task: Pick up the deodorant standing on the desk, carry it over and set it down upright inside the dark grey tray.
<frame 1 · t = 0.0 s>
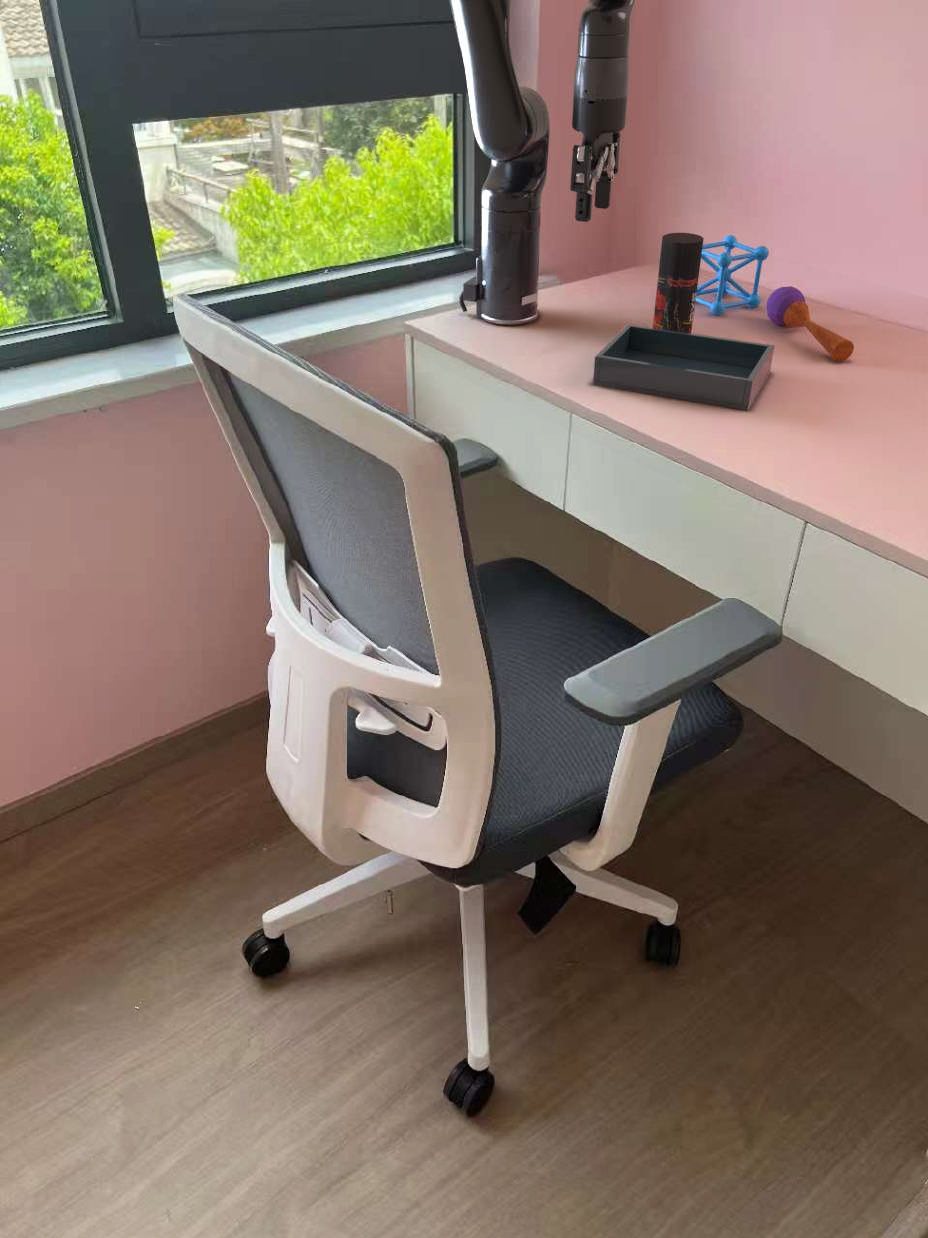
hand: (592, 214, 147), 17 cm above the table, tool pointing down, fingers open, 8 cm apart
deodorant: (670, 339, 153), on the table
molecular structure: (719, 306, 166), on the table
dark grey tray: (682, 378, 139), on the table
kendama: (805, 340, 152), on the table
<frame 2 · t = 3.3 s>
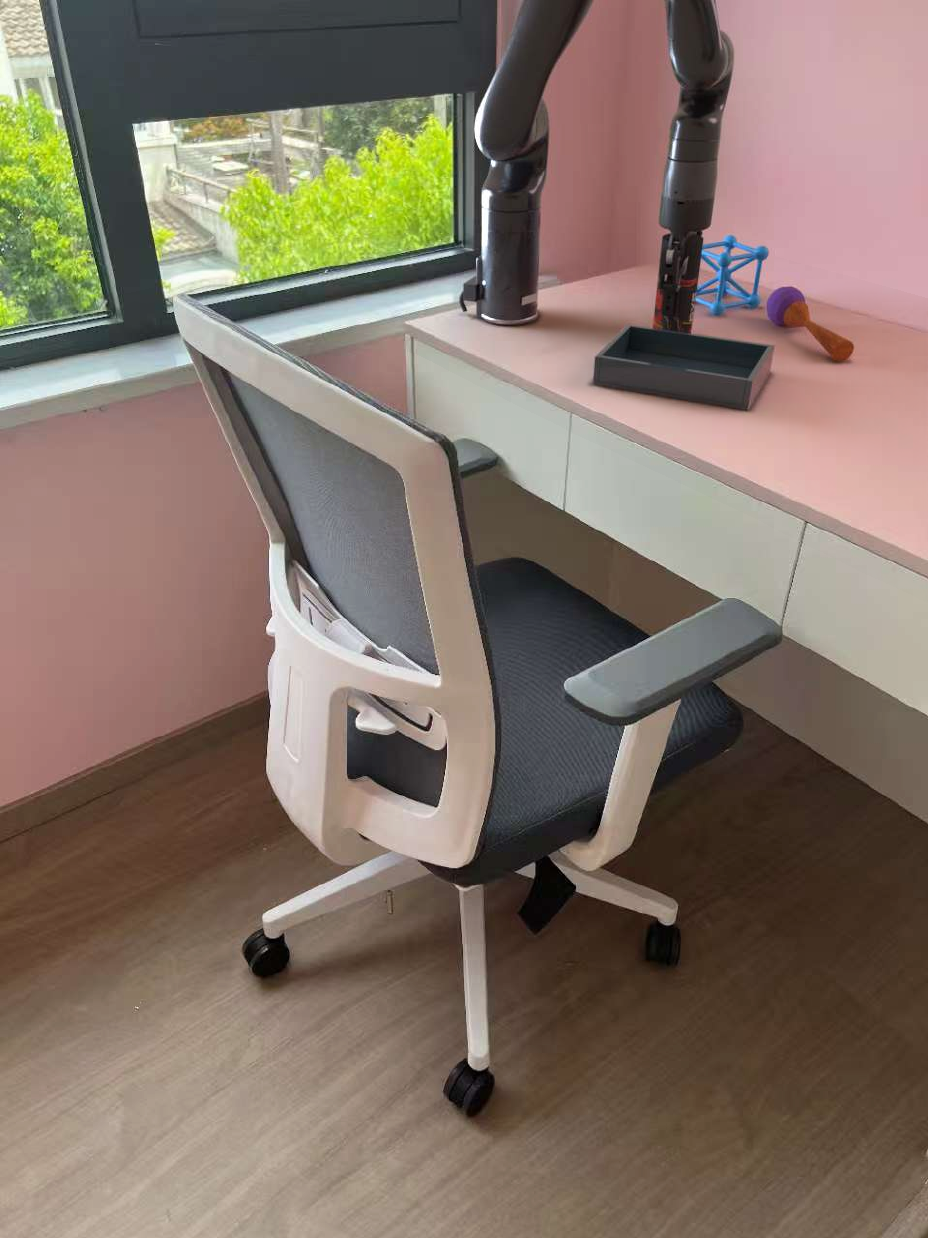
hand: (674, 308, 150), 5 cm above the table, tool pointing down, fingers closed on deodorant, 6 cm apart
deodorant: (670, 339, 153), on the table, touching gripper
everything else where it was.
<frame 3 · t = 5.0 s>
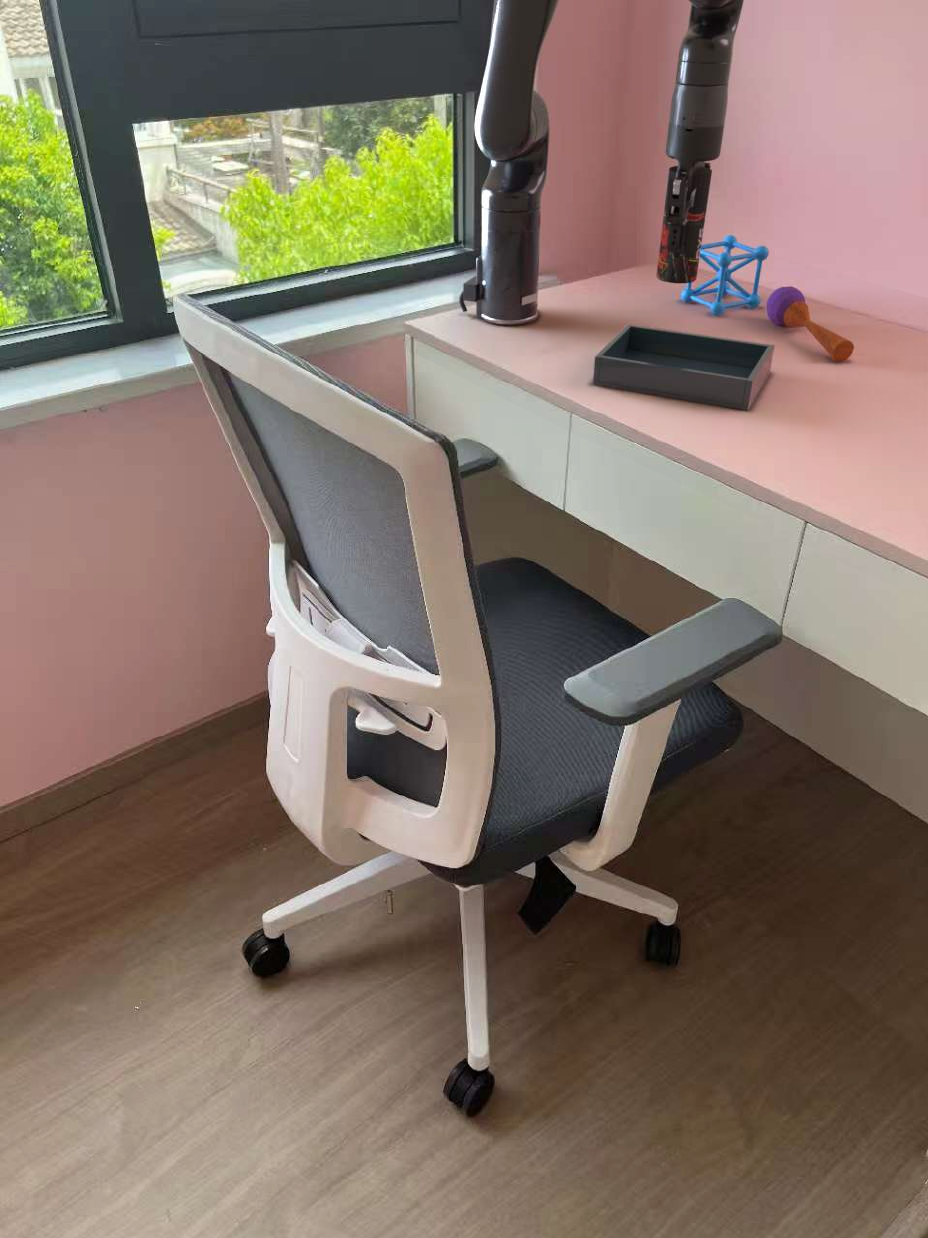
hand: (680, 245, 145), 14 cm above the table, tool pointing down, fingers closed on deodorant, 6 cm apart
deodorant: (676, 278, 148), point 9 cm above the table, touching gripper
everything else where it was.
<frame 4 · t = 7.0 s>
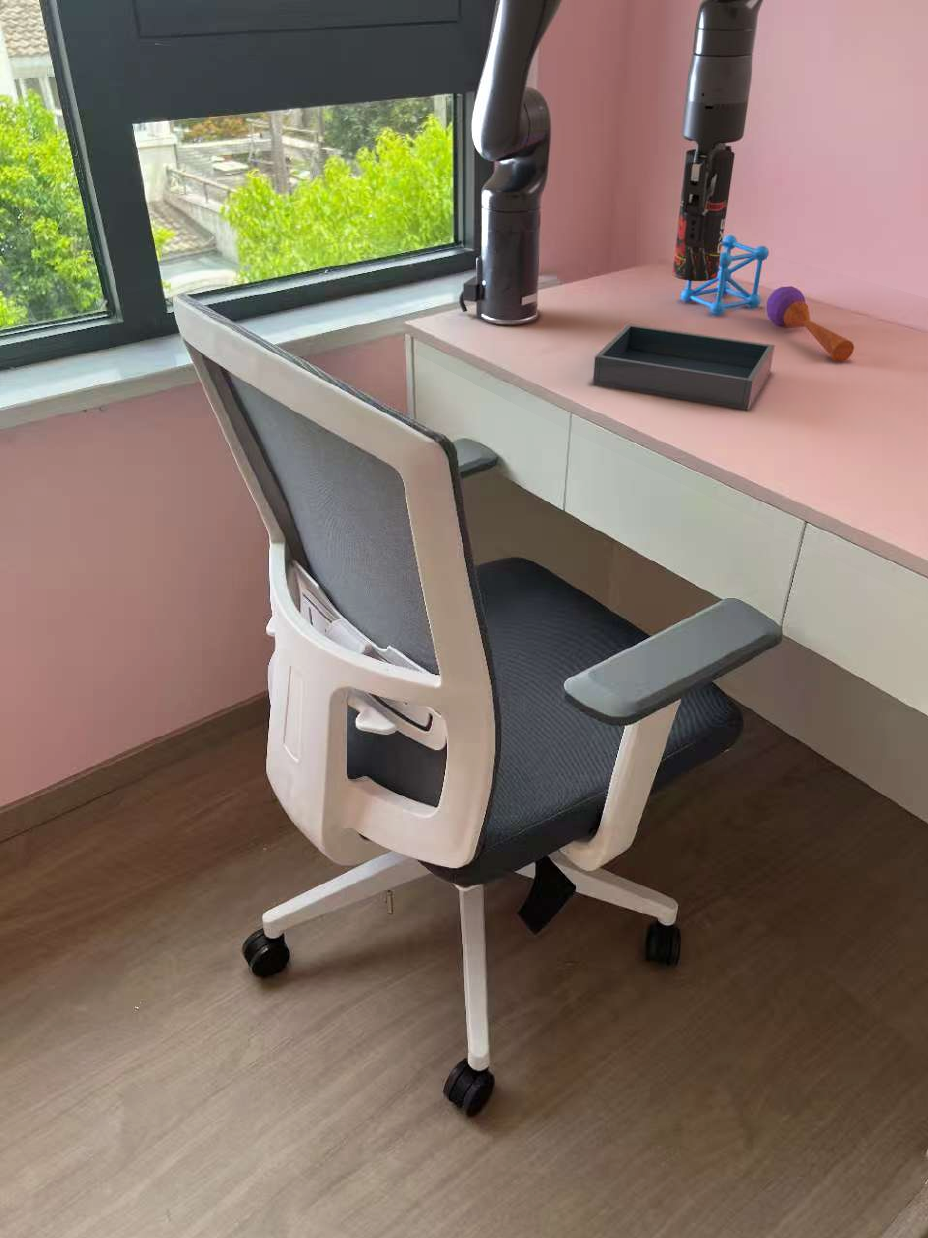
hand: (699, 238, 129), 19 cm above the table, tool pointing down, fingers closed on deodorant, 6 cm apart
deodorant: (694, 275, 132), point 14 cm above the table, touching gripper
everything else where it was.
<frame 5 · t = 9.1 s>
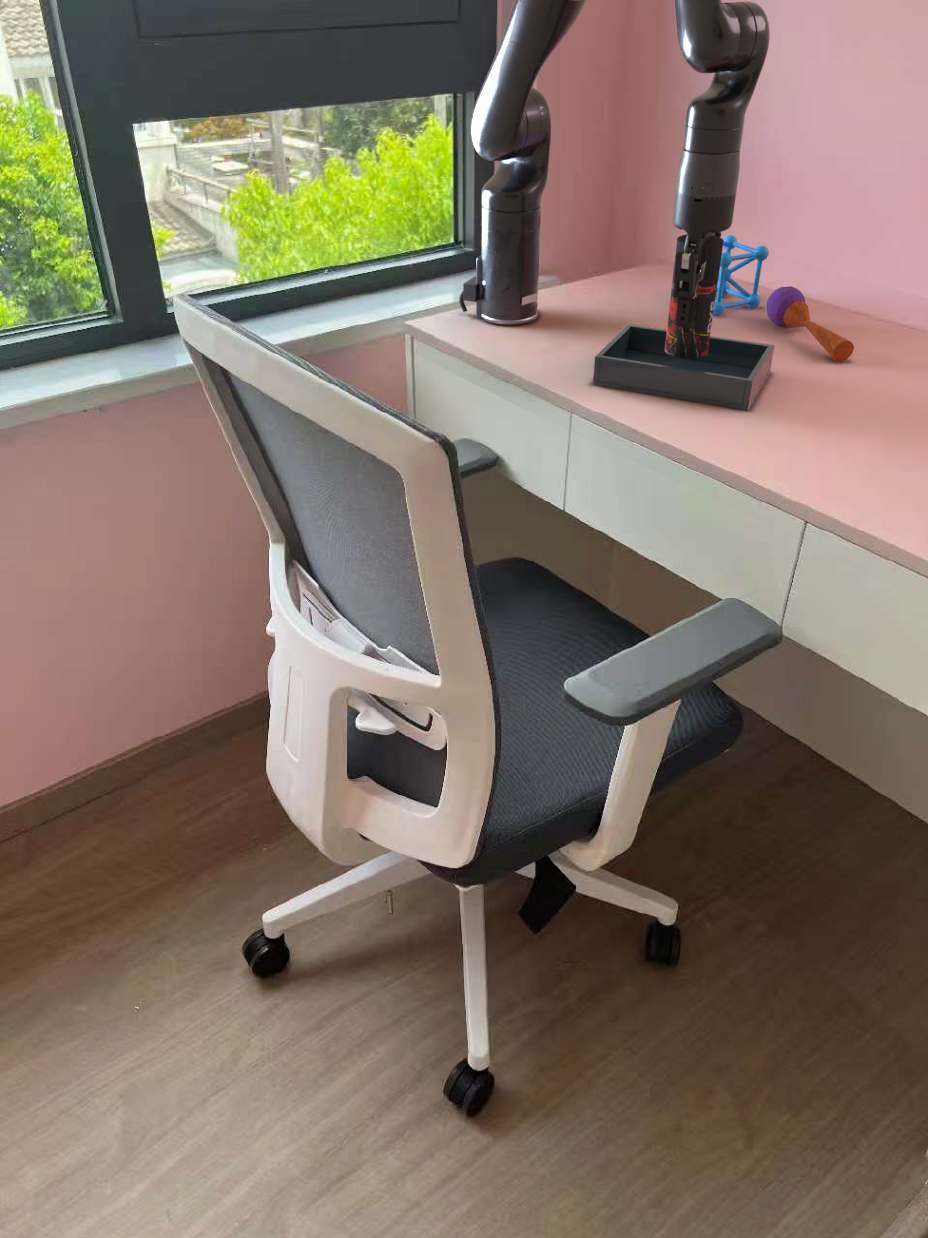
hand: (690, 318, 134), 9 cm above the table, tool pointing down, fingers closed on deodorant, 6 cm apart
deodorant: (685, 352, 137), point 4 cm above the table, touching gripper
everything else where it was.
when the fingers open (5 cm above the table, at t = 10.5 s): deodorant stays where it is, resting on dark grey tray.
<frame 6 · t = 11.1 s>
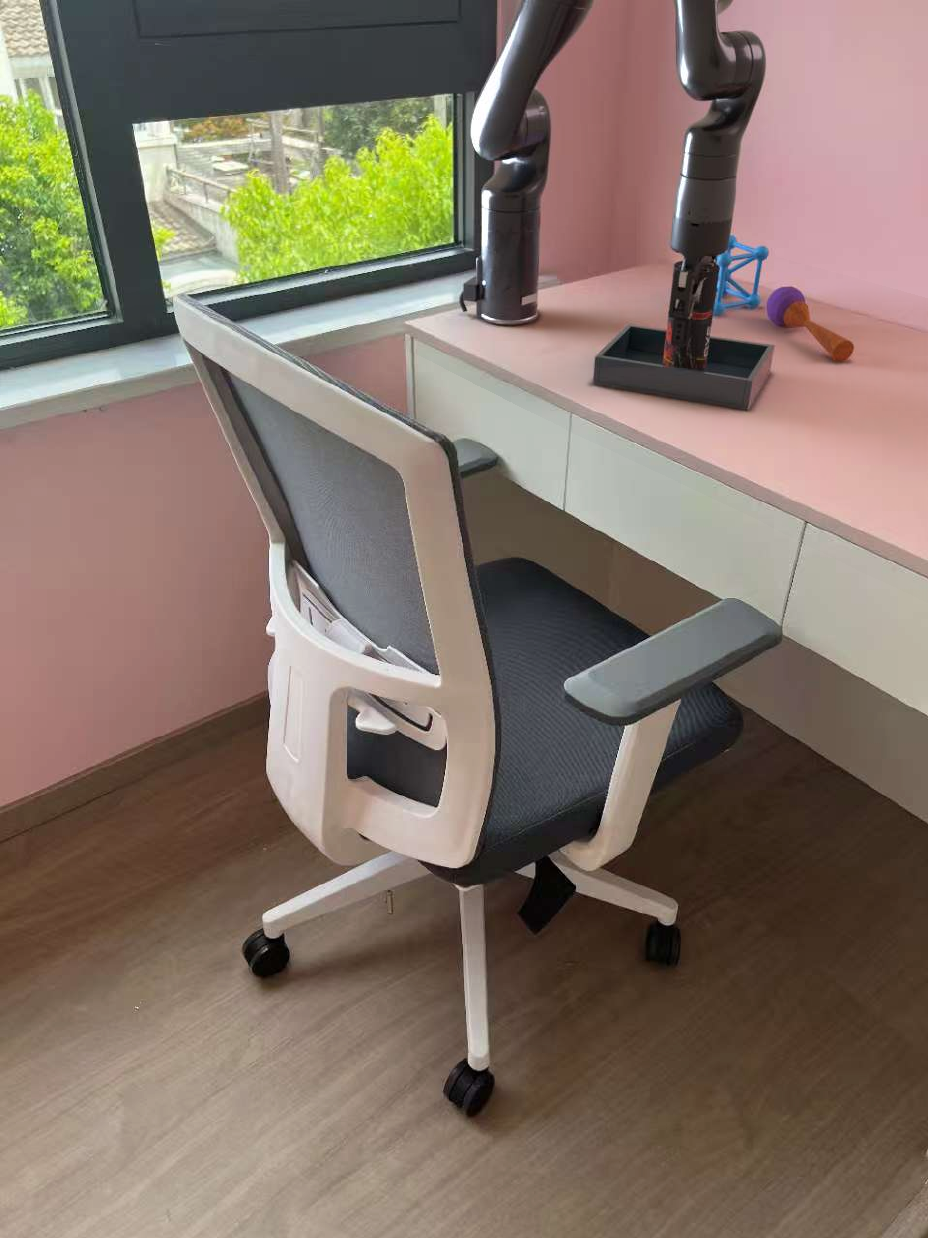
hand: (687, 335, 136), 6 cm above the table, tool pointing down, fingers open, 8 cm apart
deodorant: (682, 375, 139), resting on dark grey tray
everything else where it was.
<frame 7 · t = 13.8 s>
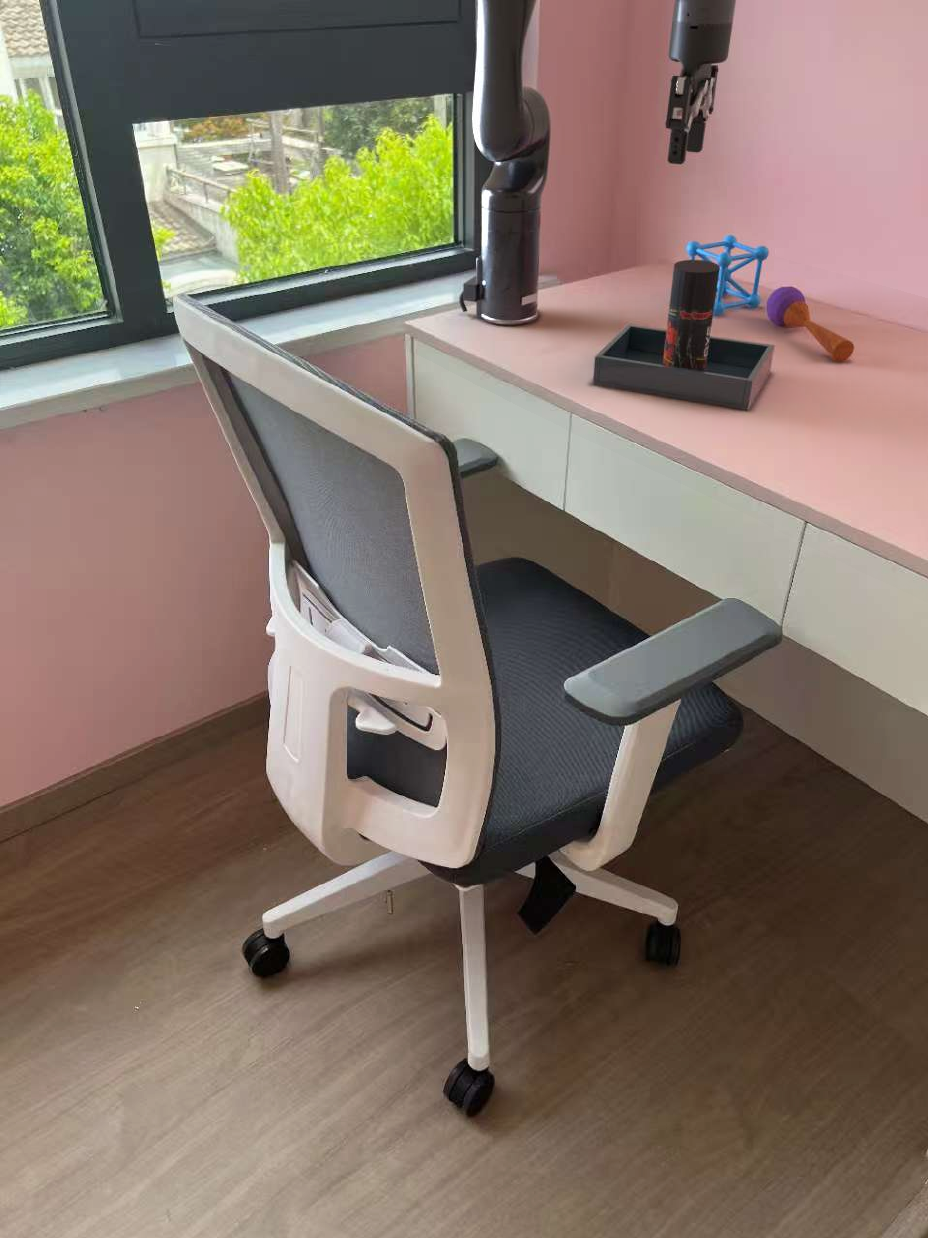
hand: (684, 157, 133), 27 cm above the table, tool pointing down, fingers open, 8 cm apart
nothing on the table moved.
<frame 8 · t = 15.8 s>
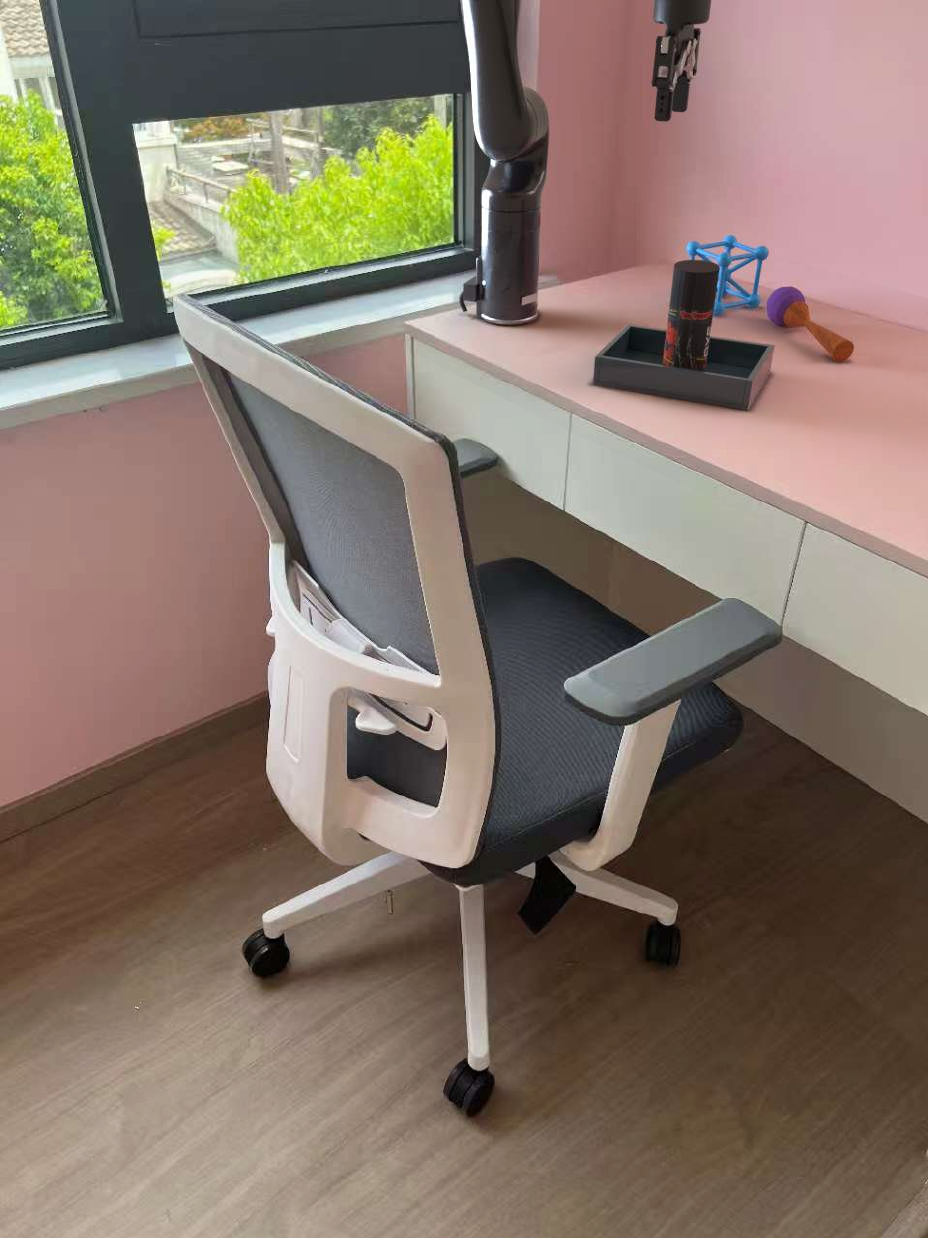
hand: (670, 115, 141), 30 cm above the table, tool pointing down, fingers open, 8 cm apart
nothing on the table moved.
at the end: deodorant inside the target area in the dark grey tray (0.1 cm from its centre), point 0.4 cm above the dark grey tray's base; the gripper is holding nothing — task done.
